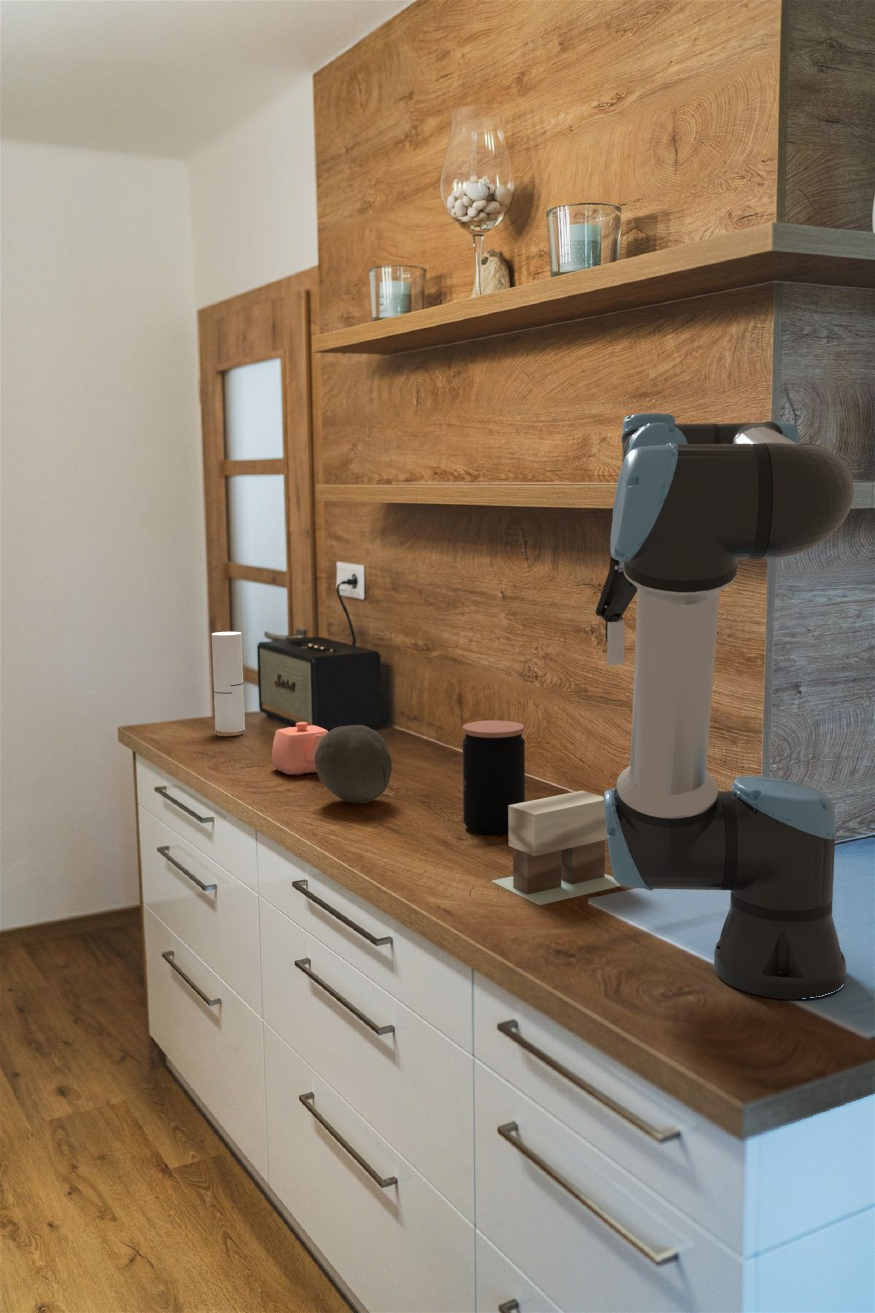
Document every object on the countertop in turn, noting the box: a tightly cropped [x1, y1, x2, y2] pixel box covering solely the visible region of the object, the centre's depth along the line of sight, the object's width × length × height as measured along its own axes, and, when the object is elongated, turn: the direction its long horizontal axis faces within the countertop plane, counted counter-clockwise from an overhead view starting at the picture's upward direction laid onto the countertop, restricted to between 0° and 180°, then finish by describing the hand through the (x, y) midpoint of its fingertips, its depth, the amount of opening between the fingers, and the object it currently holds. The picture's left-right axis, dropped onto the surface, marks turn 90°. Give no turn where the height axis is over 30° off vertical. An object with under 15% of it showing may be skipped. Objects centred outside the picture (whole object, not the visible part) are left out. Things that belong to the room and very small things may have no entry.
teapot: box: [271, 721, 329, 776], centre depth 243 cm, size 12×18×10 cm, turn 30°
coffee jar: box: [462, 719, 526, 836], centre depth 199 cm, size 11×11×18 cm
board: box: [491, 873, 622, 906], centre depth 168 cm, size 12×16×1 cm
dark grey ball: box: [315, 724, 393, 805], centre depth 216 cm, size 14×14×15 cm
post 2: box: [561, 840, 606, 884], centre depth 169 cm, size 4×6×6 cm, turn 121°
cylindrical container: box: [211, 631, 246, 732], centre depth 281 cm, size 7×7×25 cm
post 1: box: [512, 847, 561, 895], centre depth 165 cm, size 4×6×6 cm, turn 121°
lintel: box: [508, 790, 608, 856], centre depth 166 cm, size 6×14×6 cm, turn 124°
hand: (646, 670), depth 168 cm, fingers open, 13 cm apart
